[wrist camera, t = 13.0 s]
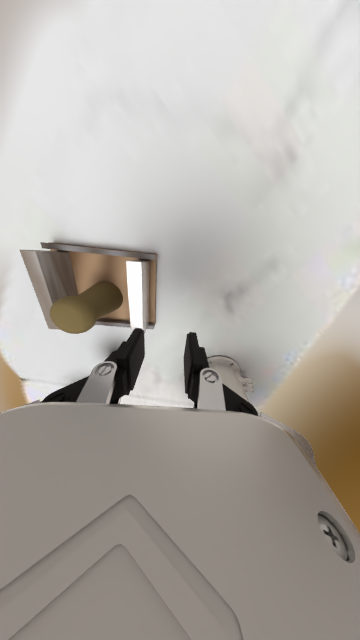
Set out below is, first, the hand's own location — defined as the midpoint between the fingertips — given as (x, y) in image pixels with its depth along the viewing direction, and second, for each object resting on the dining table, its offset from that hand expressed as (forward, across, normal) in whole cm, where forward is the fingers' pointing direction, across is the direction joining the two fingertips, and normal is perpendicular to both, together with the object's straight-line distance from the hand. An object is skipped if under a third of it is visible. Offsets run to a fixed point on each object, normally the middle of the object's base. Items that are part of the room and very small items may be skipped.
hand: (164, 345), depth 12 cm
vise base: (+17, +12, 0) cm, 21 cm away
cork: (+16, +13, +1) cm, 21 cm away
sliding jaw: (+16, +5, 0) cm, 17 cm away
